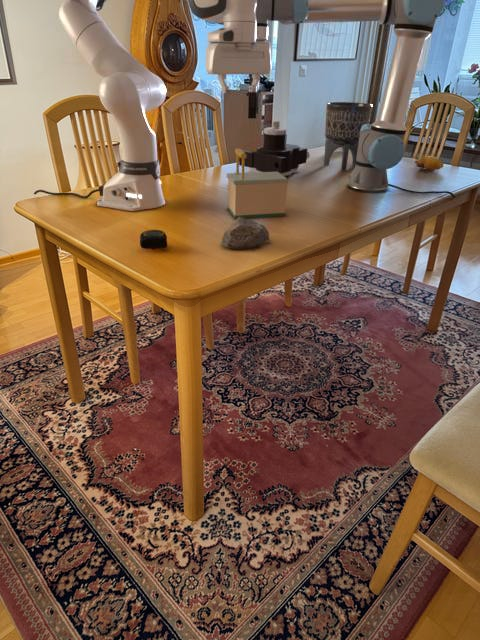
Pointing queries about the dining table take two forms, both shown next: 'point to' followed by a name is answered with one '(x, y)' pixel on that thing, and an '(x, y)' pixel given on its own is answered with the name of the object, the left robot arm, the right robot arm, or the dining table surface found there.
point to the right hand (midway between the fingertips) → (253, 116)
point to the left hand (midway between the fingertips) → (239, 92)
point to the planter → (344, 129)
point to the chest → (257, 200)
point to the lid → (253, 174)
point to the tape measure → (153, 239)
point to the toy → (429, 163)
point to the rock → (245, 234)
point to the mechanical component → (276, 153)
